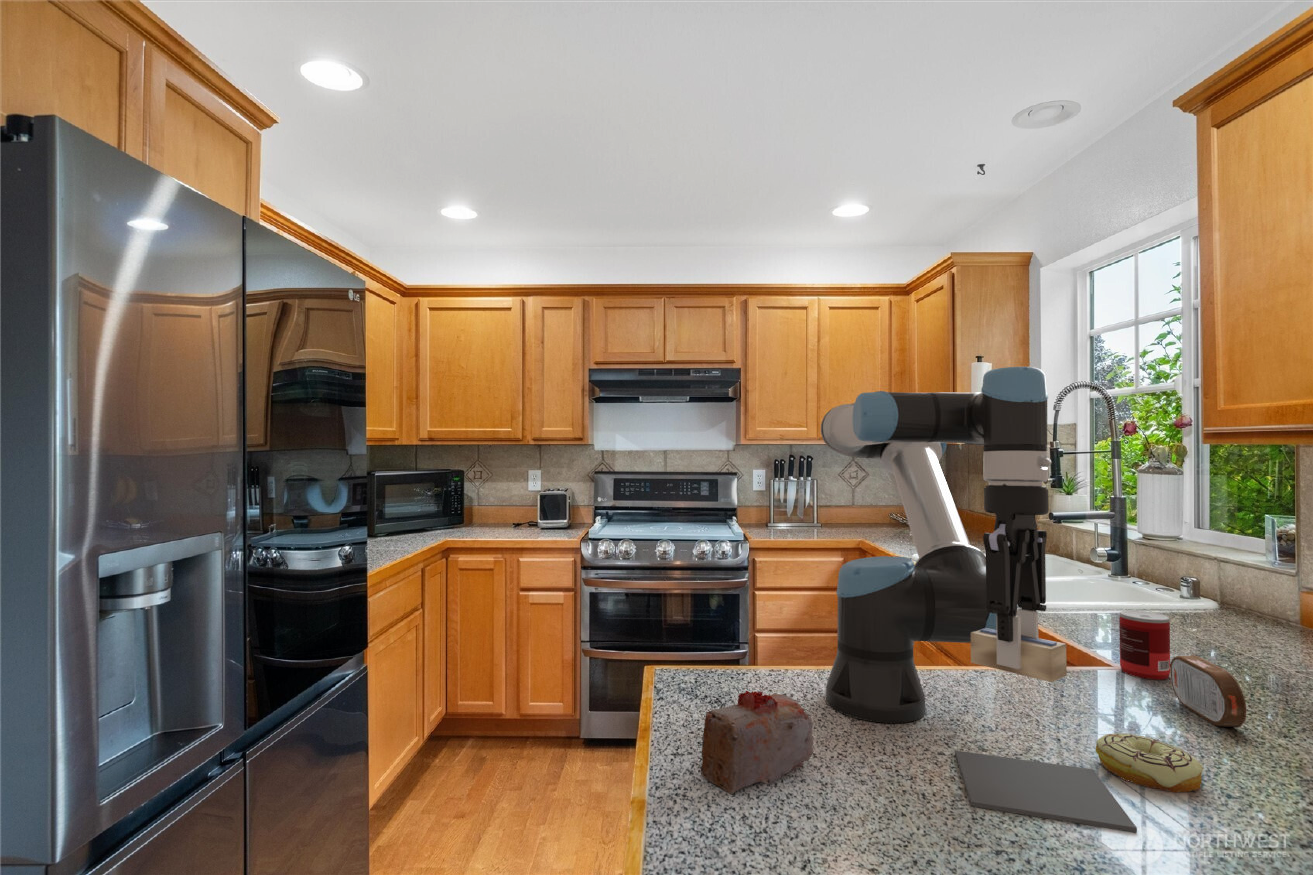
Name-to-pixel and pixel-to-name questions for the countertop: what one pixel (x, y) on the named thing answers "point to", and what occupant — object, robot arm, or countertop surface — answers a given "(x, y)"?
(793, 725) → the food item
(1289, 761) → the countertop surface
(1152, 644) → the canned food
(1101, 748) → the decorated donut
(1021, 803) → the mat
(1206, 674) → the tin
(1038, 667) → the card box
